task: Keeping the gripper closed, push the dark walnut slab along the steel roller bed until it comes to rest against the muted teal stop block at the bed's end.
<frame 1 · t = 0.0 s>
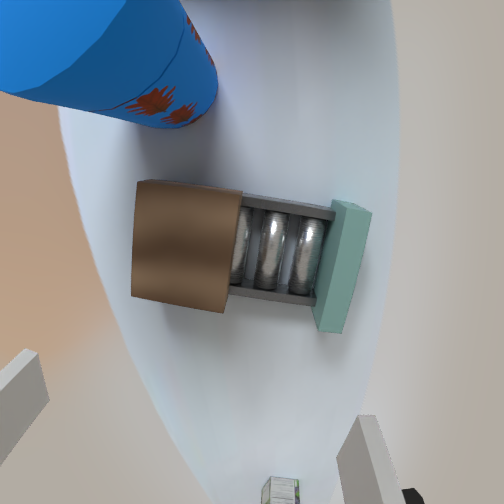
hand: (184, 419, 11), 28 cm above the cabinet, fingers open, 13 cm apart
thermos: (174, 86, 33), on the cabinet
slab: (189, 239, 35), point 3 cm above the cabinet, touching roller bed
roller bed: (237, 239, 38), on the cabinet
stop block: (331, 255, 38), on the cabinet
syrup box: (279, 483, 51), on the cabinet
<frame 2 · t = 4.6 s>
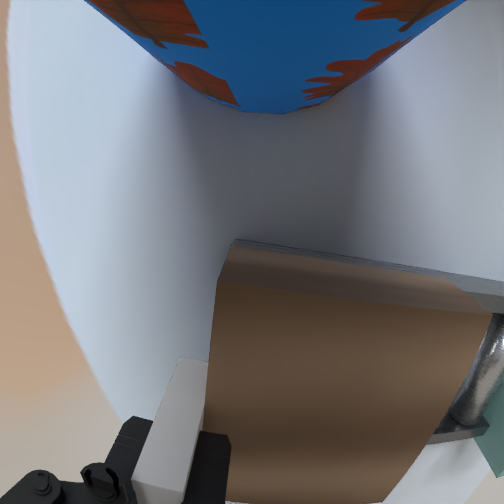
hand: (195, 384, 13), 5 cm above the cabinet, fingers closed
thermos: (268, 21, 13), on the cabinet
slab: (318, 379, 15), point 3 cm above the cabinet, touching gripper, roller bed
roller bed: (388, 352, 18), on the cabinet
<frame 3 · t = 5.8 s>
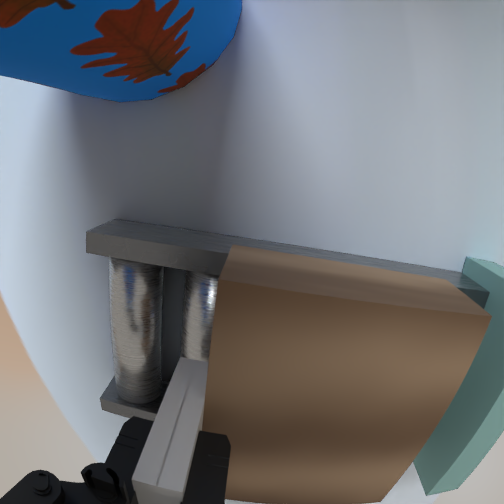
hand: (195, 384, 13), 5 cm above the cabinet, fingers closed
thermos: (146, 17, 13), on the cabinet
slab: (318, 378, 15), point 3 cm above the cabinet, touching gripper, roller bed
roller bed: (283, 340, 18), on the cabinet
stop block: (448, 352, 18), on the cabinet
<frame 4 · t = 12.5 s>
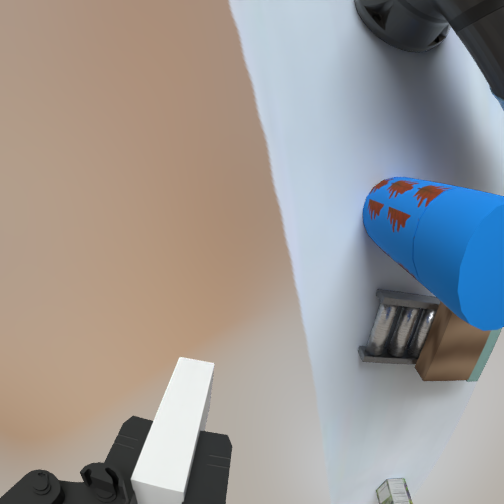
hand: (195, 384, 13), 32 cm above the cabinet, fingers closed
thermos: (395, 213, 43), on the cabinet
slab: (450, 337, 45), point 3 cm above the cabinet, touching roller bed
roller bed: (420, 326, 48), on the cabinet
stop block: (468, 330, 48), on the cabinet
syrup box: (389, 483, 60), on the cabinet
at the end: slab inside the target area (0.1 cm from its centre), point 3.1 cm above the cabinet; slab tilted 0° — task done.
